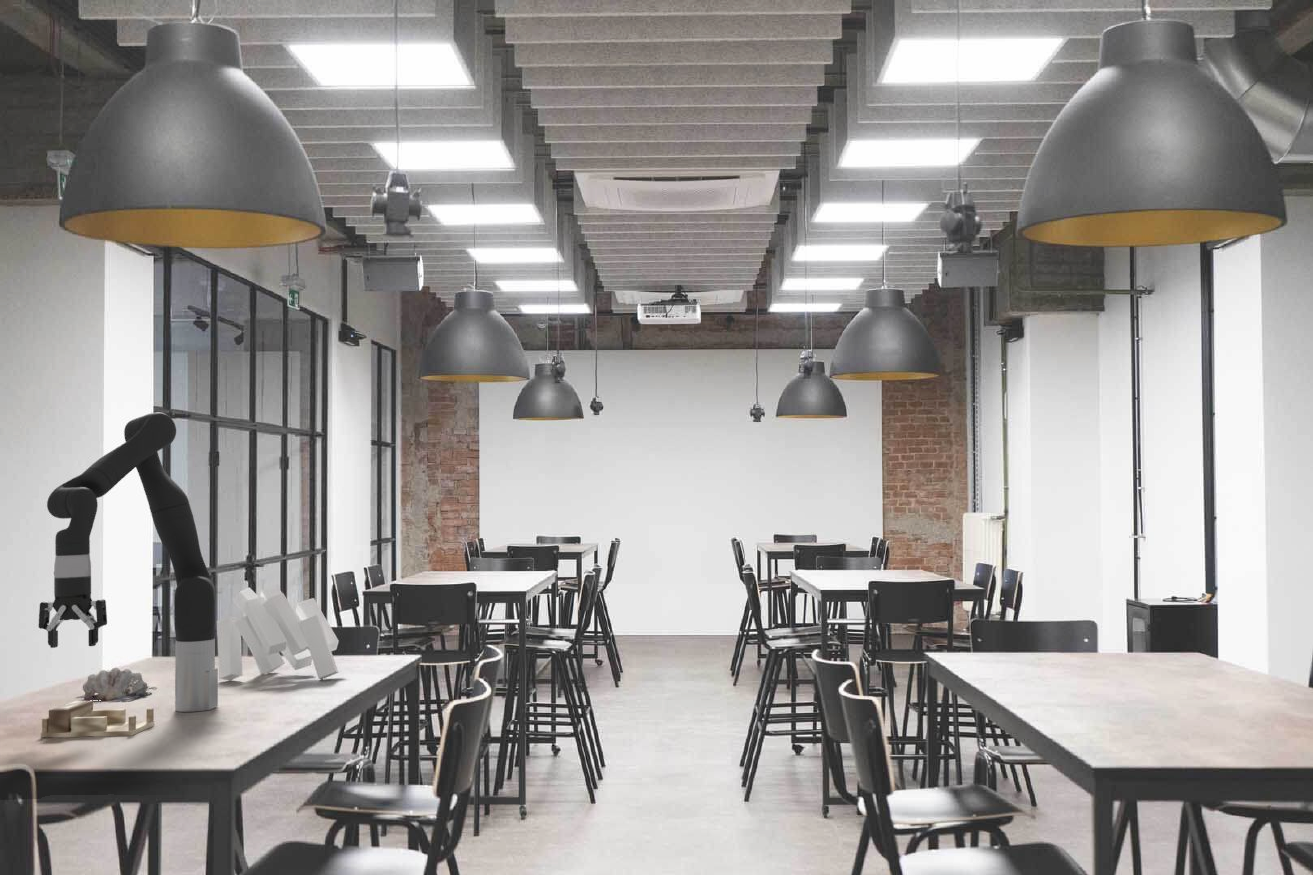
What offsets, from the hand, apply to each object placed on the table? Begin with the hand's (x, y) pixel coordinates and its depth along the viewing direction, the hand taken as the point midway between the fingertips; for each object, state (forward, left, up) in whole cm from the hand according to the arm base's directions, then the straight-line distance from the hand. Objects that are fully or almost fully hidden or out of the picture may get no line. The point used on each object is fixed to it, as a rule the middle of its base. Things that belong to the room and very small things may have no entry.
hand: (73, 646), depth 262 cm
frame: (0, 0, -18) cm, 18 cm away
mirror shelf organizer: (-6, 0, -19) cm, 20 cm away
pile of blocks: (-22, -79, -20) cm, 85 cm away
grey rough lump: (+14, -54, -20) cm, 59 cm away
